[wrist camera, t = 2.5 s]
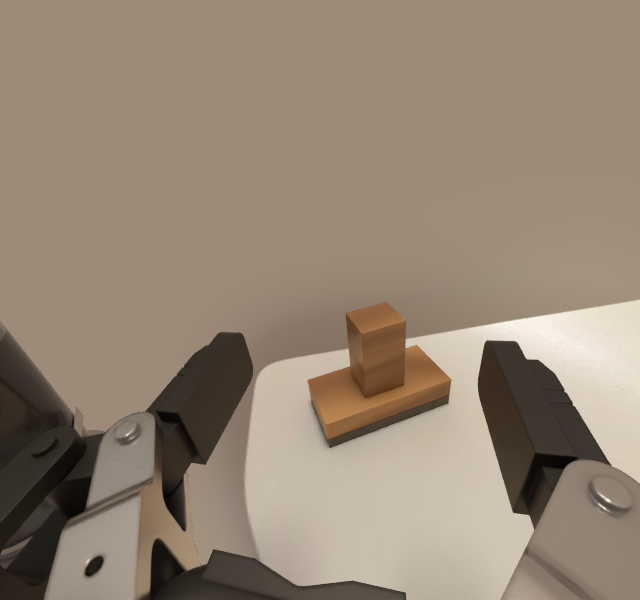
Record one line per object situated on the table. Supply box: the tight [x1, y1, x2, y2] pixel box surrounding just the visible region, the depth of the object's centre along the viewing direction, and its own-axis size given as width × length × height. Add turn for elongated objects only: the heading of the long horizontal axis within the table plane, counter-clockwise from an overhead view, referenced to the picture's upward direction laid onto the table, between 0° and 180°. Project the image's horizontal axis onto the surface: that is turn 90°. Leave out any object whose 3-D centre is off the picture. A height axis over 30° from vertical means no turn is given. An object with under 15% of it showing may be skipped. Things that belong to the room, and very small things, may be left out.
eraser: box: [308, 302, 451, 447], centre depth 25 cm, size 5×11×9 cm, turn 108°
